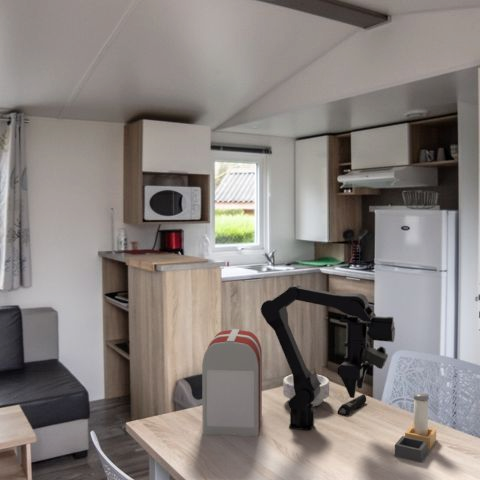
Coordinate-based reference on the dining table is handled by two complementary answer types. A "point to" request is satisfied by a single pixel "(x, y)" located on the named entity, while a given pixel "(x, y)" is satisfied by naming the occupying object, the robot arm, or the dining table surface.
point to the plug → (421, 414)
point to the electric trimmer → (352, 405)
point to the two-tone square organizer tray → (415, 445)
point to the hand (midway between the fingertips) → (356, 392)
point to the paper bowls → (324, 393)
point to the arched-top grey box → (232, 384)
